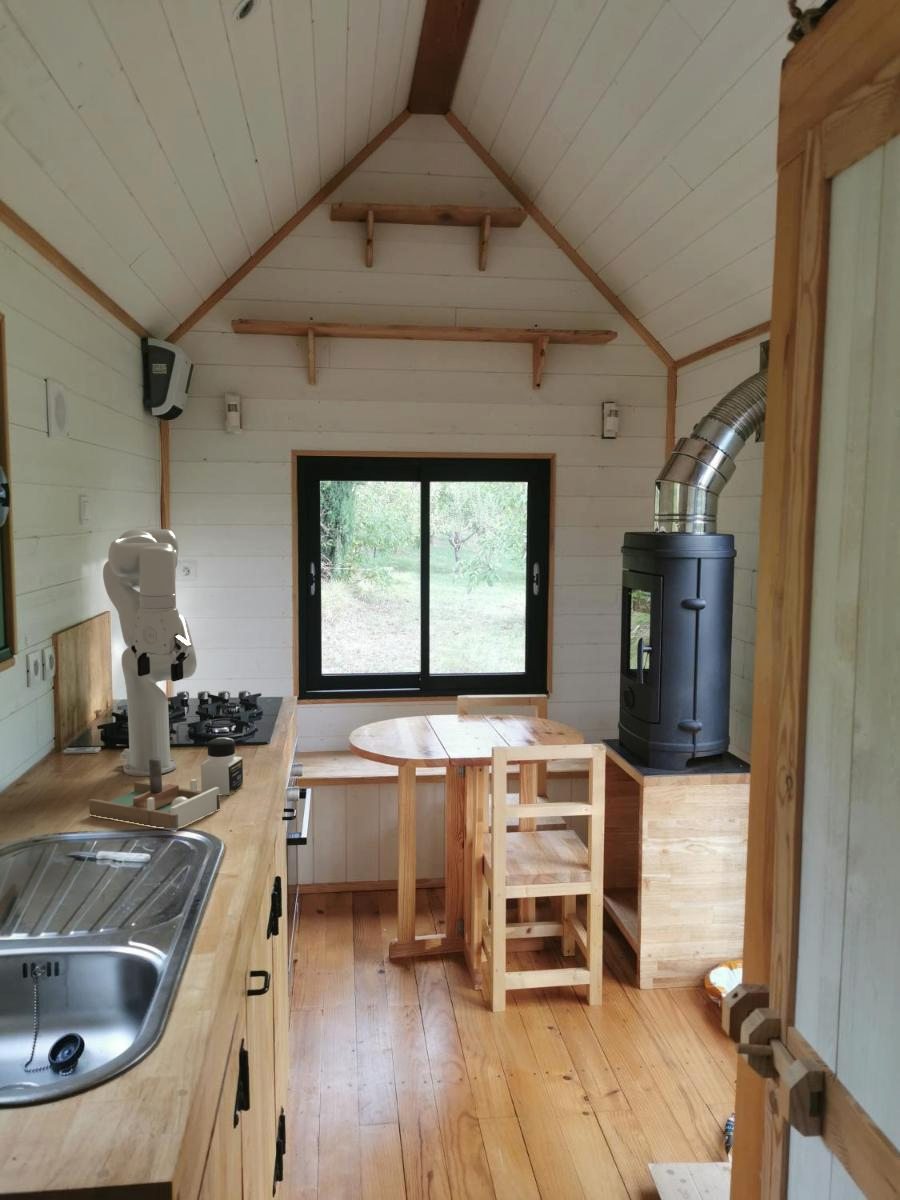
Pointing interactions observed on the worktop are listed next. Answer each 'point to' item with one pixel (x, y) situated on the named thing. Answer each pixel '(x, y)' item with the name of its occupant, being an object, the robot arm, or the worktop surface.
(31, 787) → the worktop surface
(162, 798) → the striker
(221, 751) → the medicine bottle
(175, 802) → the ball
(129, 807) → the pitch
